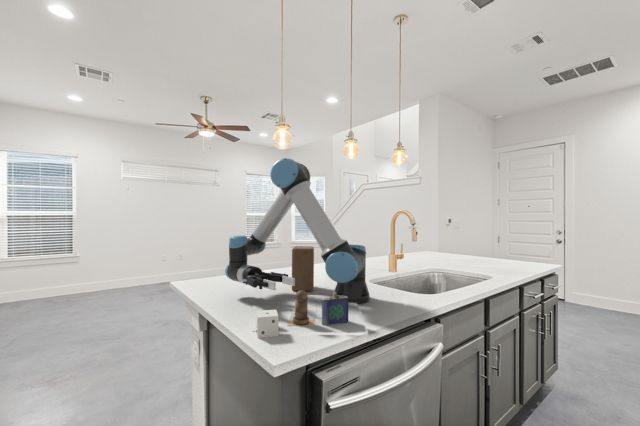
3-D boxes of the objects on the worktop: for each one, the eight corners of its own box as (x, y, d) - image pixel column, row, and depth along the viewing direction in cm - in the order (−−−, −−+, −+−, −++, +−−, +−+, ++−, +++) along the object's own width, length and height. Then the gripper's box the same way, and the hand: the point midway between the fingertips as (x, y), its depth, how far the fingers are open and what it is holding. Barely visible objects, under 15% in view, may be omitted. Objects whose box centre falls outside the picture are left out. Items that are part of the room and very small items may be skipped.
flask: (323, 328, 94) (323, 294, 94) (320, 325, 97) (320, 292, 97) (349, 325, 97) (350, 292, 97) (346, 322, 100) (346, 289, 100)
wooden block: (313, 291, 139) (313, 248, 139) (291, 291, 139) (291, 248, 139) (313, 286, 149) (314, 246, 149) (293, 286, 149) (293, 246, 149)
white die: (276, 328, 94) (276, 309, 94) (278, 336, 88) (278, 315, 88) (256, 330, 92) (256, 310, 92) (257, 338, 87) (257, 317, 87)
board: (317, 309, 113) (317, 307, 113) (315, 329, 93) (315, 326, 93) (293, 308, 113) (293, 306, 113) (286, 328, 94) (286, 326, 94)
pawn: (309, 319, 99) (309, 288, 99) (309, 325, 94) (309, 292, 94) (293, 319, 99) (293, 288, 99) (292, 325, 94) (293, 292, 94)
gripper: (271, 280, 129) (306, 289, 113) (226, 289, 115) (259, 300, 98) (271, 263, 129) (306, 269, 113) (226, 269, 115) (259, 277, 98)
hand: (284, 284), depth 105 cm, fingers open, 8 cm apart
